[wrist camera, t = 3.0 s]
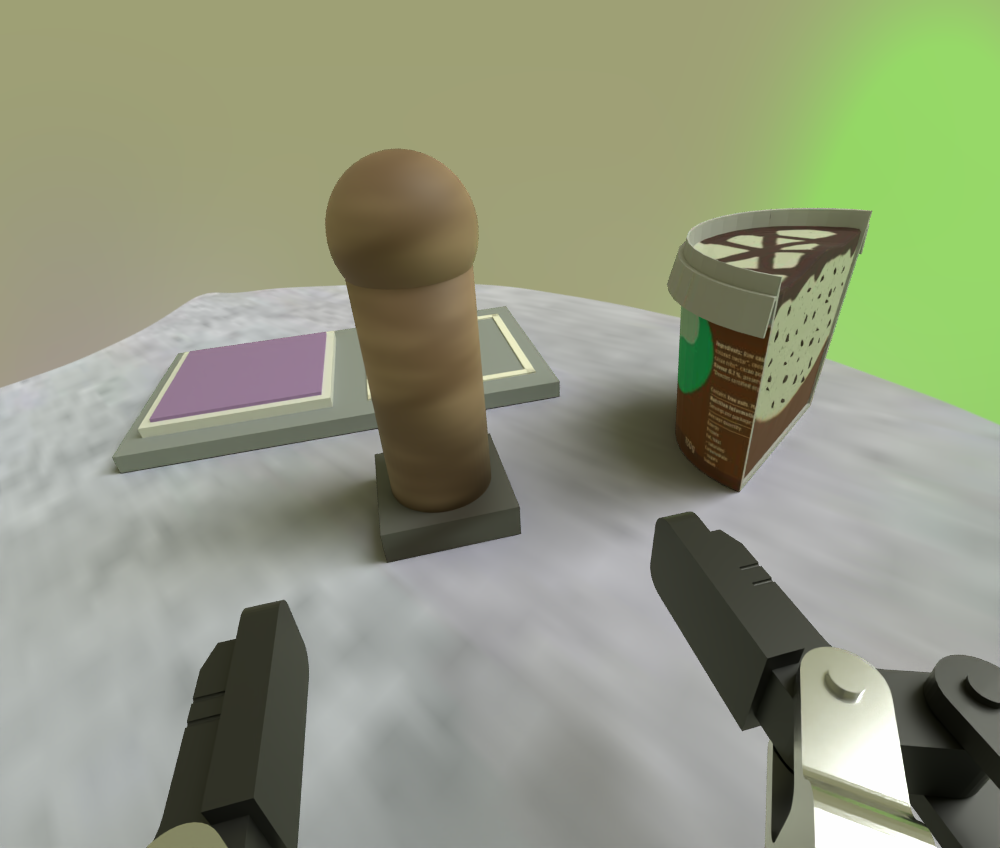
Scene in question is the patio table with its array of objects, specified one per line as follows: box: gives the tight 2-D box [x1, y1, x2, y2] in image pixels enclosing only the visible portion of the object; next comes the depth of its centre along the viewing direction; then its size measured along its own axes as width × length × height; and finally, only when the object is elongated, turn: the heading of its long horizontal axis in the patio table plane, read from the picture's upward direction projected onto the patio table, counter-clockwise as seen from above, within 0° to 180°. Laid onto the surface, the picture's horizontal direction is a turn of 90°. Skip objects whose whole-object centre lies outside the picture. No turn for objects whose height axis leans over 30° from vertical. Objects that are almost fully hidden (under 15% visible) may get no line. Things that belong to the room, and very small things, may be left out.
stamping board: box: [112, 306, 560, 473], centre depth 35 cm, size 24×13×2 cm, turn 103°
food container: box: [667, 208, 872, 492], centre depth 26 cm, size 12×6×10 cm, turn 137°
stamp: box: [325, 149, 521, 563], centre depth 21 cm, size 6×6×14 cm
